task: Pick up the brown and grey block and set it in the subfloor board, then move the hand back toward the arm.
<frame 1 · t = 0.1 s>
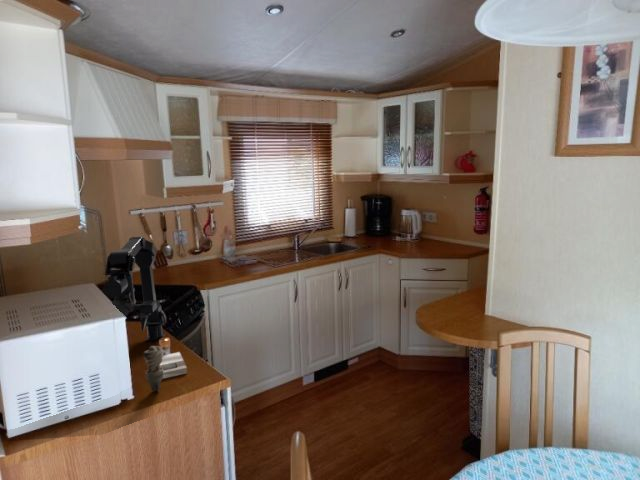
hand: (129, 331, 155), 15 cm above the table, fingers open, 9 cm apart
grey stone figurine: (157, 391, 144), on the table
subfloor board: (168, 367, 159), on the table
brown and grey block: (165, 355, 169), on the table
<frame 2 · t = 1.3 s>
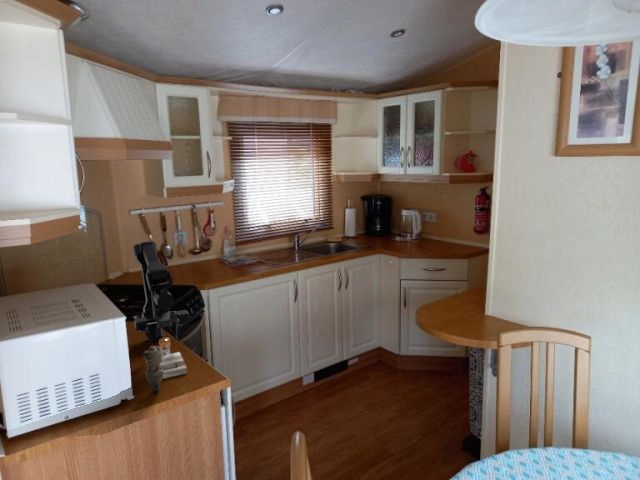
hand: (164, 341, 168), 6 cm above the table, fingers open, 9 cm apart
nothing on the table moved.
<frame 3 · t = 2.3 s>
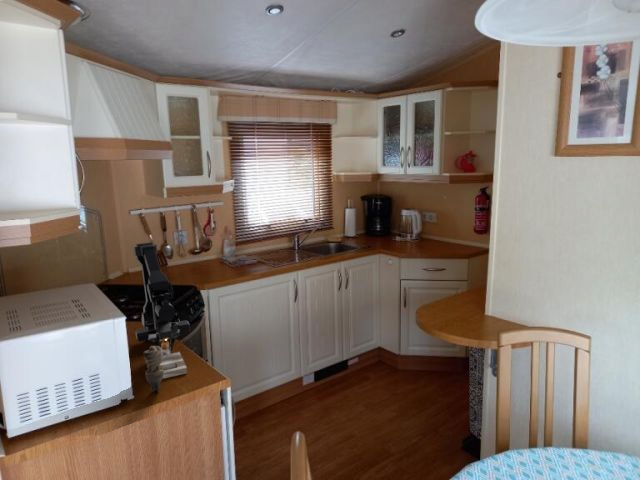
hand: (165, 352, 168), 2 cm above the table, fingers closed on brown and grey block, 4 cm apart
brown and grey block: (165, 355, 169), on the table, touching gripper
everything else where it was.
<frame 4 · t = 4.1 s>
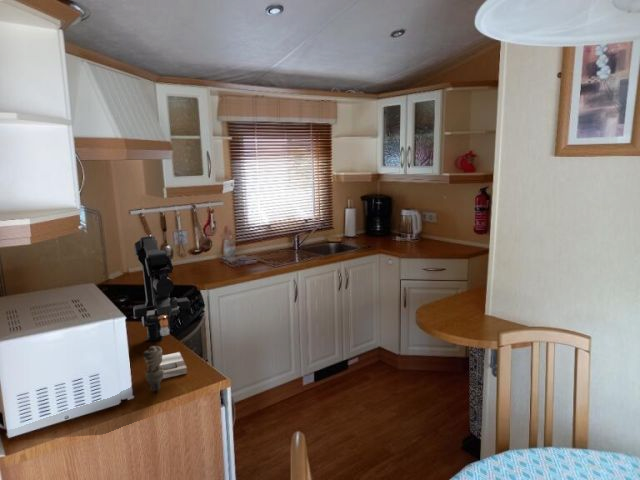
hand: (164, 330, 162), 12 cm above the table, fingers closed on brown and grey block, 4 cm apart
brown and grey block: (164, 334, 162), point 11 cm above the table, touching gripper
everything else where it was.
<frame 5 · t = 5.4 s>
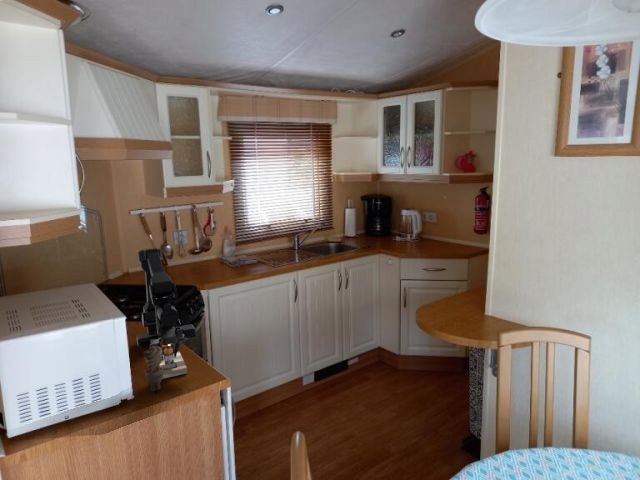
hand: (168, 358, 156), 5 cm above the table, fingers closed on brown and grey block, 4 cm apart
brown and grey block: (169, 362, 156), point 3 cm above the table, touching gripper
everything else where it was.
when the fingers open (3 cm above the table, at t = 6.2 s): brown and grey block drops 2 cm, resting in subfloor board.
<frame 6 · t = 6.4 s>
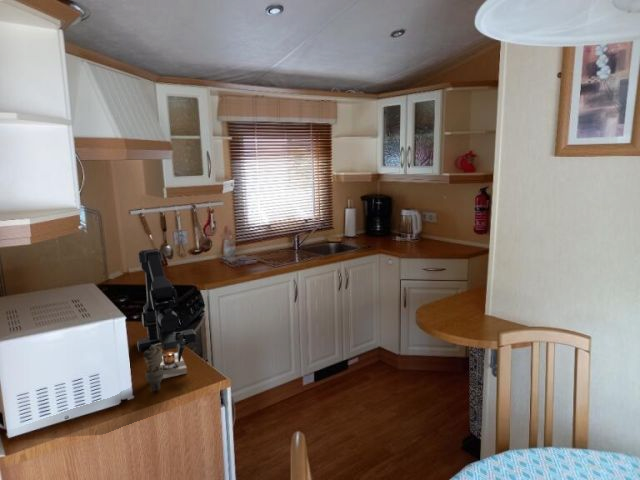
hand: (169, 363, 156), 3 cm above the table, fingers open, 6 cm apart
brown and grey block: (170, 371, 156), resting in subfloor board
everything else where it was.
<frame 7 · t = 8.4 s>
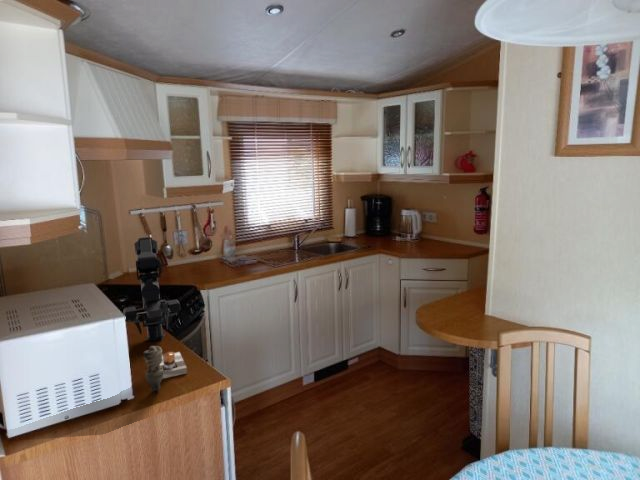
hand: (154, 331, 163), 11 cm above the table, fingers open, 9 cm apart
nothing on the table moved.
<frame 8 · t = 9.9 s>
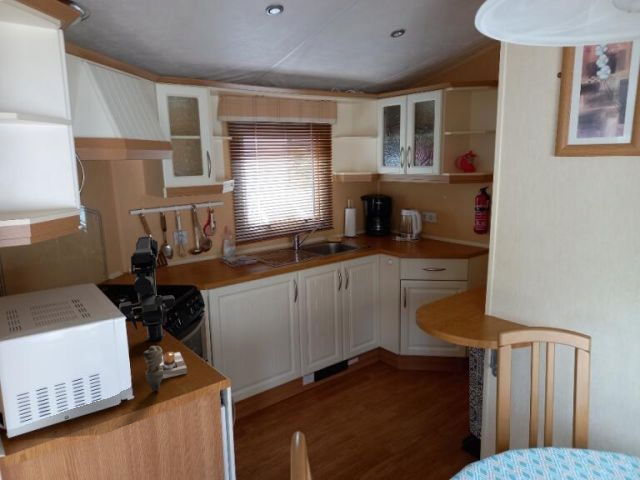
hand: (150, 326, 165), 12 cm above the table, fingers open, 9 cm apart
nothing on the table moved.
at the end: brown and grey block 0.0 cm from the target spot on the subfloor board, point 0.0 cm above the subfloor board's base; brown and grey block tilted 0°; the gripper is holding nothing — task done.
